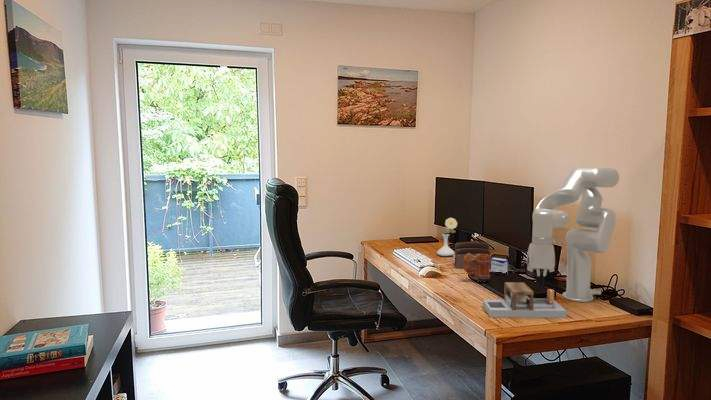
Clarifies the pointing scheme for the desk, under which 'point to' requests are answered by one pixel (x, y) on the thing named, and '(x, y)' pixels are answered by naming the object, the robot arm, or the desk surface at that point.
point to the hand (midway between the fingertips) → (539, 285)
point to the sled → (549, 301)
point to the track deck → (522, 310)
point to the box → (499, 265)
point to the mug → (477, 265)
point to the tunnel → (518, 292)
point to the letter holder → (471, 248)
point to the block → (520, 299)
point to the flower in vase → (445, 249)
